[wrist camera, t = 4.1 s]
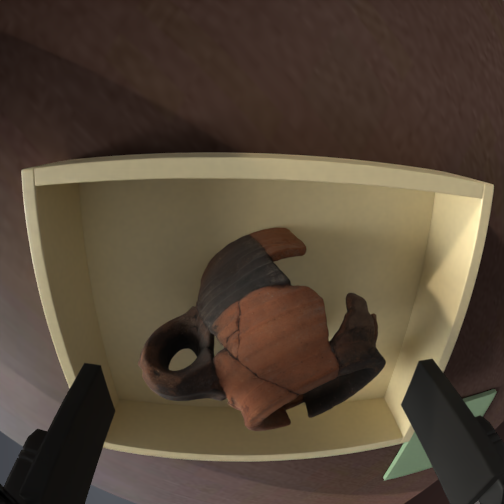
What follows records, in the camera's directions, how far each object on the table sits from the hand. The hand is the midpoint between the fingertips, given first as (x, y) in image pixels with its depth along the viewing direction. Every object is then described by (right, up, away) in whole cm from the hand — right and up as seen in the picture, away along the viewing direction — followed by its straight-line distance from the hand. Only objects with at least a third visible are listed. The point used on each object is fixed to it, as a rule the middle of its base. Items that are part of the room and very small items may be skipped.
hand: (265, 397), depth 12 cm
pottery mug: (0, +2, +7) cm, 7 cm away
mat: (+19, -14, +14) cm, 27 cm away
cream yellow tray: (0, +2, +7) cm, 7 cm away
